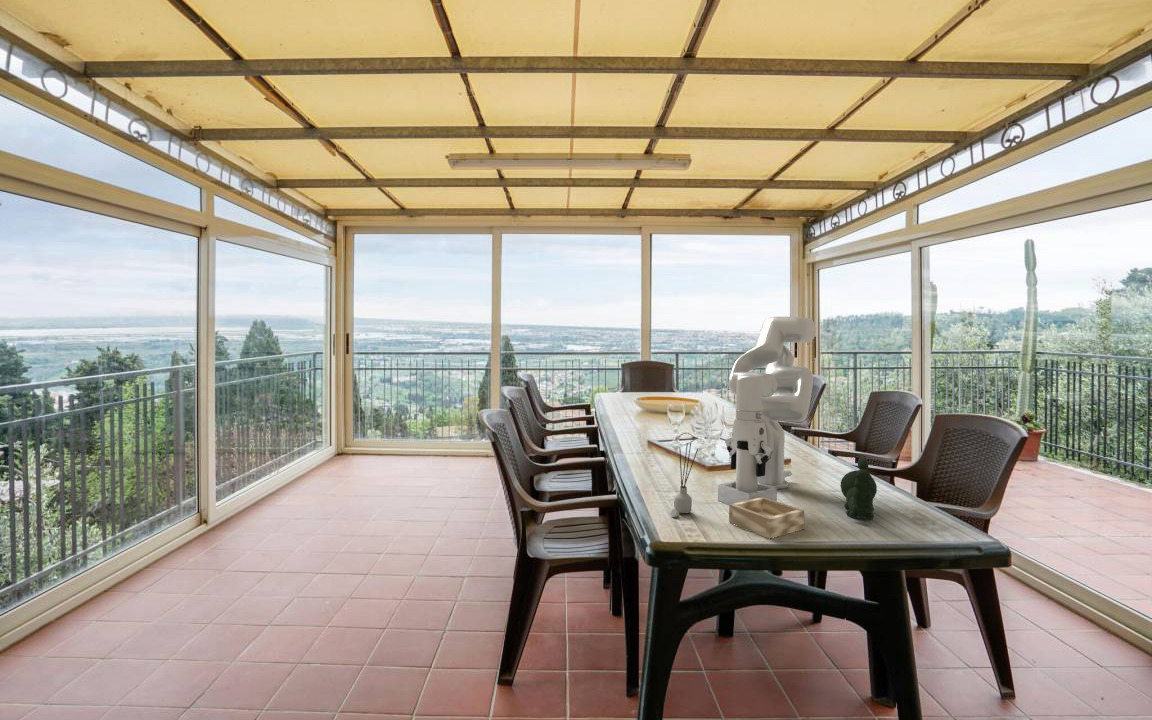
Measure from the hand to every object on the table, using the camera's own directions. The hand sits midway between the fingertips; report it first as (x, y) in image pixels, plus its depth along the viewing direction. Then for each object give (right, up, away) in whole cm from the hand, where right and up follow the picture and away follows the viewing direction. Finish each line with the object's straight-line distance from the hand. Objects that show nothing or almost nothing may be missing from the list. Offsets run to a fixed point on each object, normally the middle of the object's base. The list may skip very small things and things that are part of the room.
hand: (747, 472), depth 164 cm
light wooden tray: (-1, -10, -19) cm, 22 cm away
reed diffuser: (-21, -10, -10) cm, 25 cm away
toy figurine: (+29, -10, -9) cm, 32 cm away
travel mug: (0, -10, +1) cm, 10 cm away
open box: (0, -9, +1) cm, 9 cm away
